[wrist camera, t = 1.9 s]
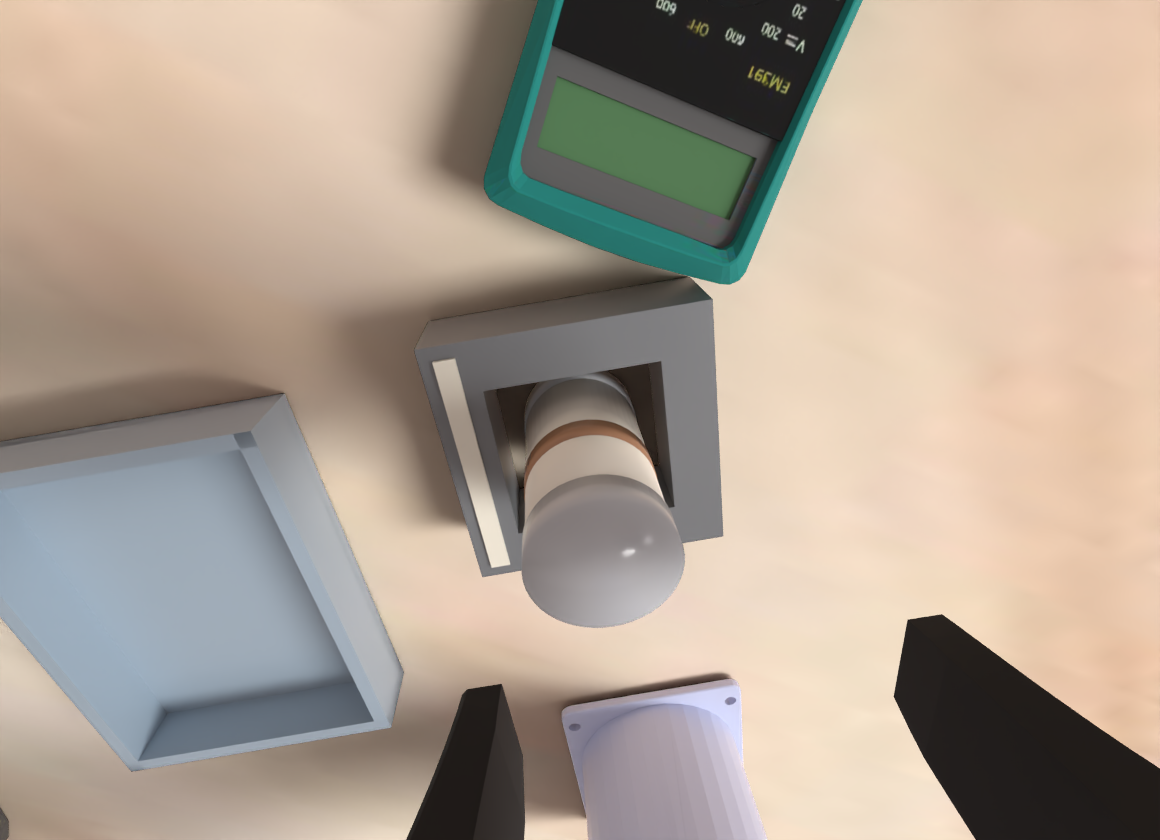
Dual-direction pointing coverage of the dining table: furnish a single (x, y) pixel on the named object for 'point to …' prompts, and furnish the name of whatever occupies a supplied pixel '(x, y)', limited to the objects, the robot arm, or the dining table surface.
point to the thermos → (3, 826)
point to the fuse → (593, 507)
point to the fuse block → (563, 349)
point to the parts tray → (191, 584)
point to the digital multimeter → (663, 122)
